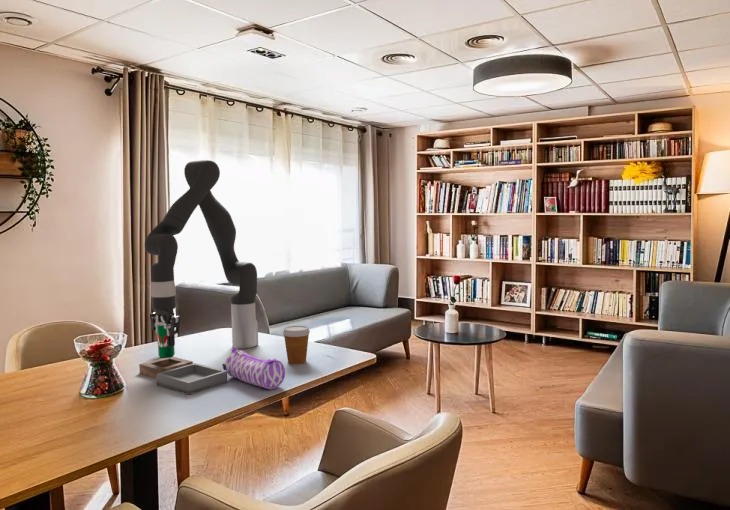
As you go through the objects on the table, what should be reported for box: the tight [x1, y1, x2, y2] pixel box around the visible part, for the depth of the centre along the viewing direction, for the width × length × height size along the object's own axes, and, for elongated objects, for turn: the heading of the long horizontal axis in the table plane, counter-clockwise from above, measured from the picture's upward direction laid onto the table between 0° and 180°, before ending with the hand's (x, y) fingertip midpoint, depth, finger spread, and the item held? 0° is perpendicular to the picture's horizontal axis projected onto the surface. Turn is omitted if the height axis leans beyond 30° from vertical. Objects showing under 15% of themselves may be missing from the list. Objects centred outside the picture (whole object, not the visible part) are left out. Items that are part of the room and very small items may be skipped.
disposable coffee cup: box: [282, 325, 311, 365], centre depth 187 cm, size 10×10×12 cm
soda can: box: [156, 321, 176, 359], centre depth 177 cm, size 5×5×12 cm
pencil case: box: [222, 348, 286, 390], centre depth 165 cm, size 22×9×10 cm, turn 47°
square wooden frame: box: [138, 356, 194, 379], centre depth 178 cm, size 12×12×3 cm
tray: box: [156, 362, 229, 396], centre depth 165 cm, size 14×16×4 cm
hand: (166, 345), depth 177 cm, fingers closed on soda can, 5 cm apart
